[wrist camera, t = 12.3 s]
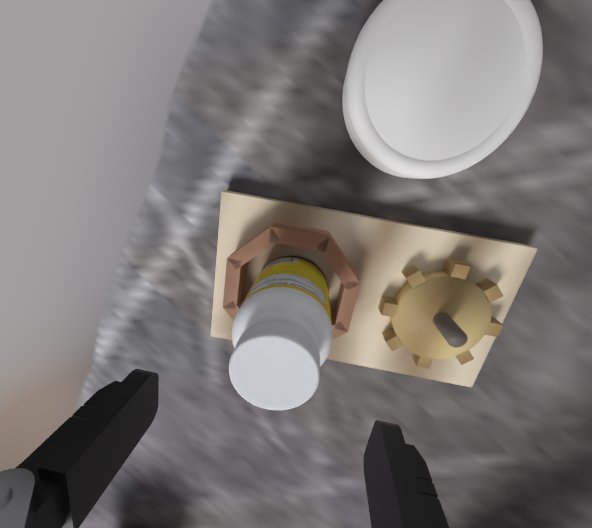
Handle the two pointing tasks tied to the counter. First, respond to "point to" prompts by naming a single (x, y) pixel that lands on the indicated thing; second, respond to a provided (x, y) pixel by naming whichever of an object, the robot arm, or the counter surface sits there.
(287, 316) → the supplement bottle
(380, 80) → the coaster
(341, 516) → the counter surface
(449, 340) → the gear board
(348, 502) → the counter surface
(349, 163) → the counter surface
